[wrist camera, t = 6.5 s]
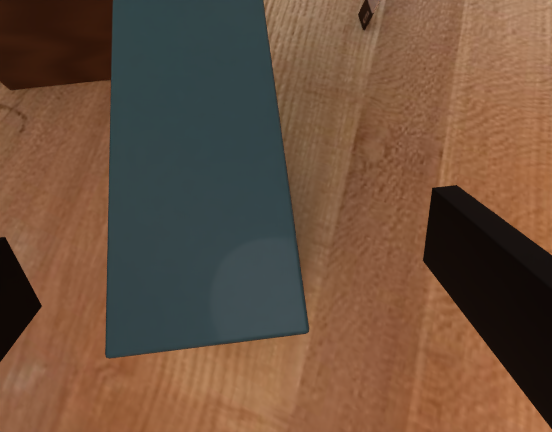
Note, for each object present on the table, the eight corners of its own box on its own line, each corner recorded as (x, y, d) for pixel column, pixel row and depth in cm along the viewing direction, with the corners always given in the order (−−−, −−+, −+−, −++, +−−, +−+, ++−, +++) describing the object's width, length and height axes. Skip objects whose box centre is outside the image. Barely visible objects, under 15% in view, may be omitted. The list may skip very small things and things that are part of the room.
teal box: (215, 336, 19) (95, 359, 7) (205, 183, 22) (105, -2, 9) (291, 326, 19) (309, 333, 7) (272, 176, 22) (261, -17, 9)
